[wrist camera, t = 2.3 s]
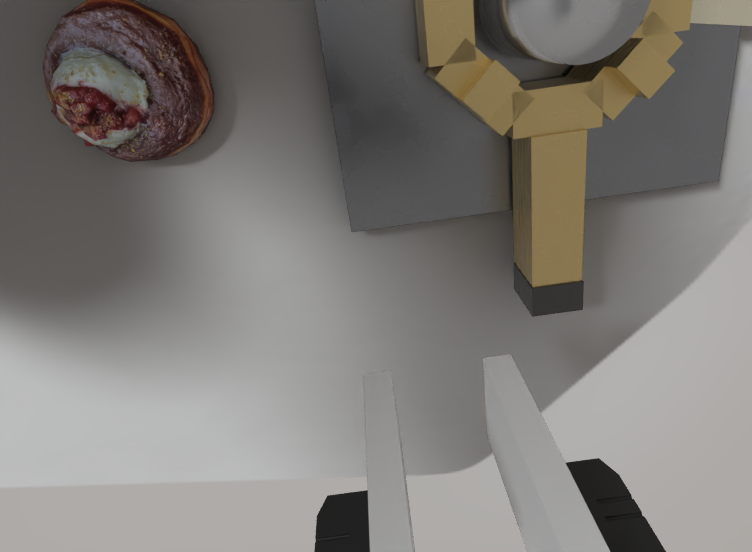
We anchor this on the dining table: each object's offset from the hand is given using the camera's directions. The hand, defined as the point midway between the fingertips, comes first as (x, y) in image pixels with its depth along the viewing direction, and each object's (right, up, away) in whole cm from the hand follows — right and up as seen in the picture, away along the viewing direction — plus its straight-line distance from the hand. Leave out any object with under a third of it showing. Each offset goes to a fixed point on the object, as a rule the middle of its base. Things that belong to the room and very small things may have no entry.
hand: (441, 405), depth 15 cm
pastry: (-14, +13, +12) cm, 23 cm away
